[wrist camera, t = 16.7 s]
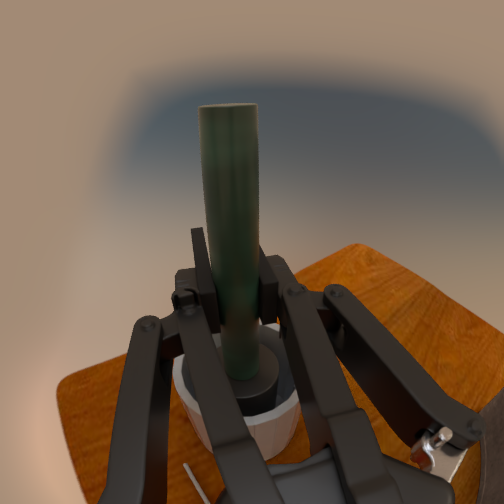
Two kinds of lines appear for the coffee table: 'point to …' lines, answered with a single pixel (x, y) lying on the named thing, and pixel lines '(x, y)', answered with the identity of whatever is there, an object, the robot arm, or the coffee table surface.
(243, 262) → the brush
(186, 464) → the lollipop
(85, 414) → the coffee table surface
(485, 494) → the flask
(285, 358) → the canister
